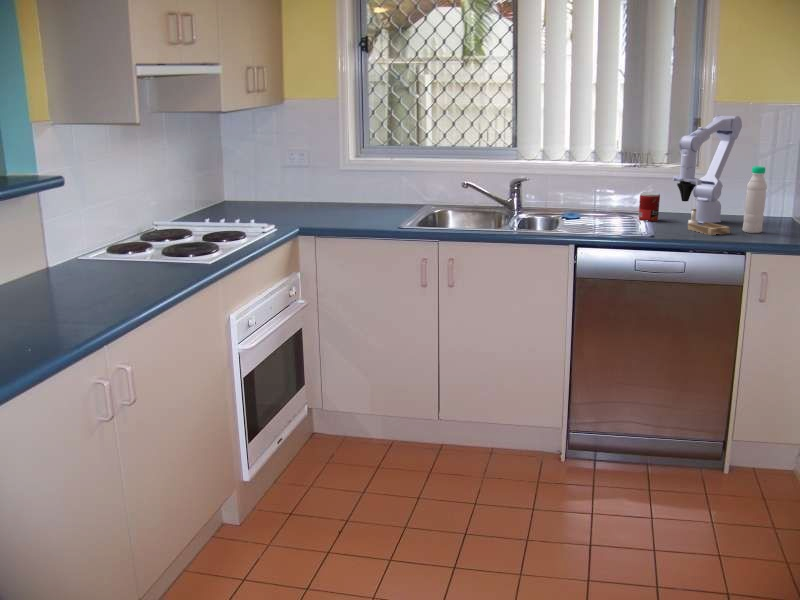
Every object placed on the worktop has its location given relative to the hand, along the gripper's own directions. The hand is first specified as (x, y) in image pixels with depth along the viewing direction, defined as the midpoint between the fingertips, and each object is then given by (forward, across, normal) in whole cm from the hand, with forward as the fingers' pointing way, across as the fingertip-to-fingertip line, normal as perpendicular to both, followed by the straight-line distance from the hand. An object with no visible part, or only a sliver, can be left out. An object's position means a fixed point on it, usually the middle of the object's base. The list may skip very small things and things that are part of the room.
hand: (685, 201), depth 348 cm
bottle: (+10, +6, 0) cm, 11 cm away
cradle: (+10, +14, 0) cm, 17 cm away
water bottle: (+10, +22, +15) cm, 28 cm away
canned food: (+10, -16, -4) cm, 20 cm away
